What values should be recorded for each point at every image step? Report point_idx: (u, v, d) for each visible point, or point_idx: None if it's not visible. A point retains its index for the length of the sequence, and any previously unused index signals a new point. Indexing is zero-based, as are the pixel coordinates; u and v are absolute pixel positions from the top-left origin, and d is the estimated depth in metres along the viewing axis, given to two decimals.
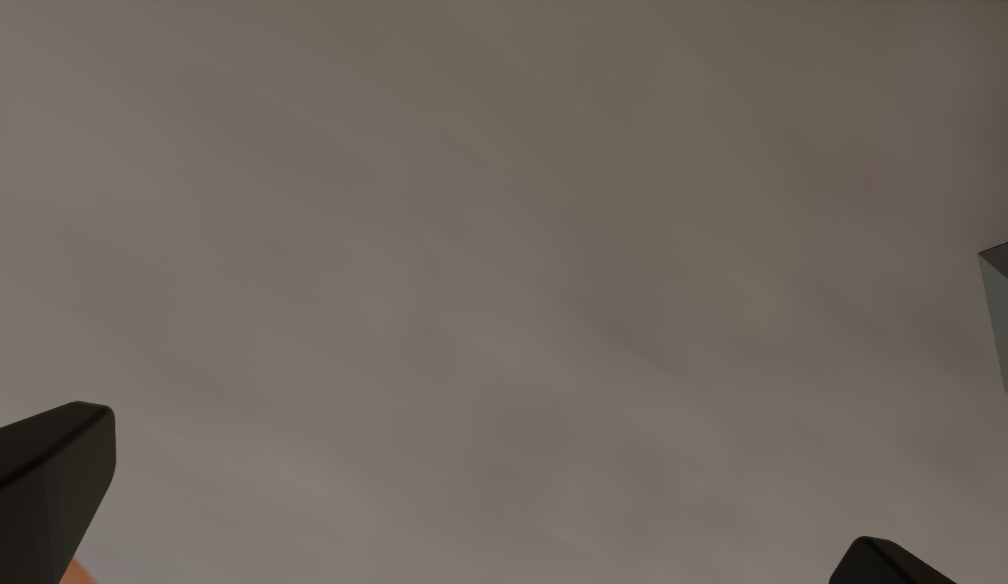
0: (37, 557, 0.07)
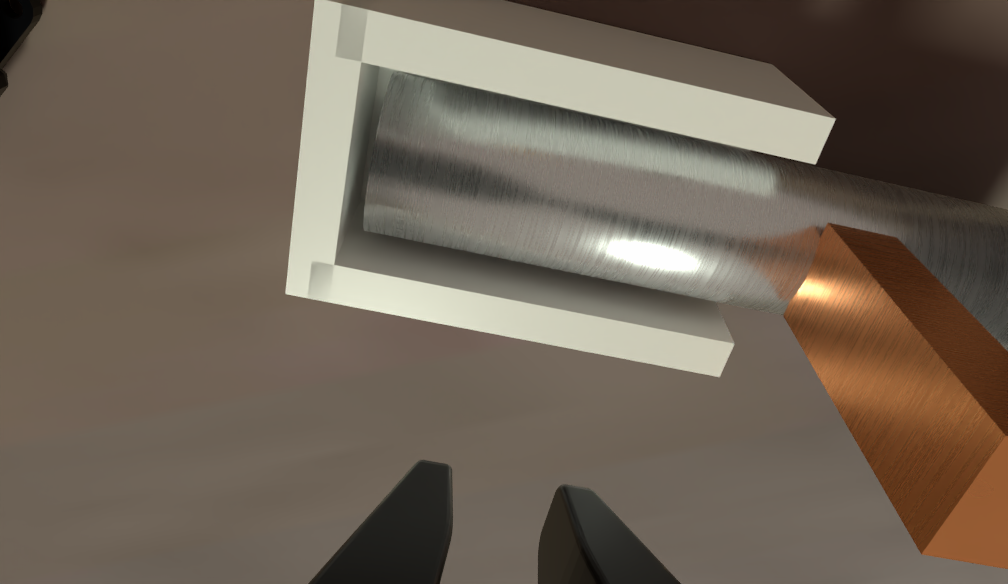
0: None
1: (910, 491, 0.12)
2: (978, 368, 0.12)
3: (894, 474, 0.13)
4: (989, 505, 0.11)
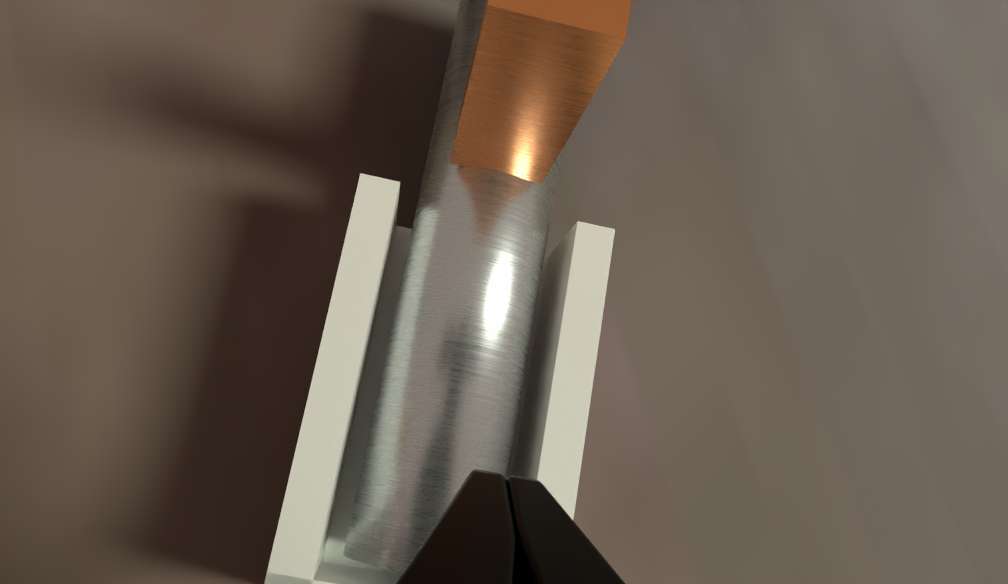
0: None
1: (586, 59, 0.14)
2: None
3: (583, 73, 0.14)
4: None
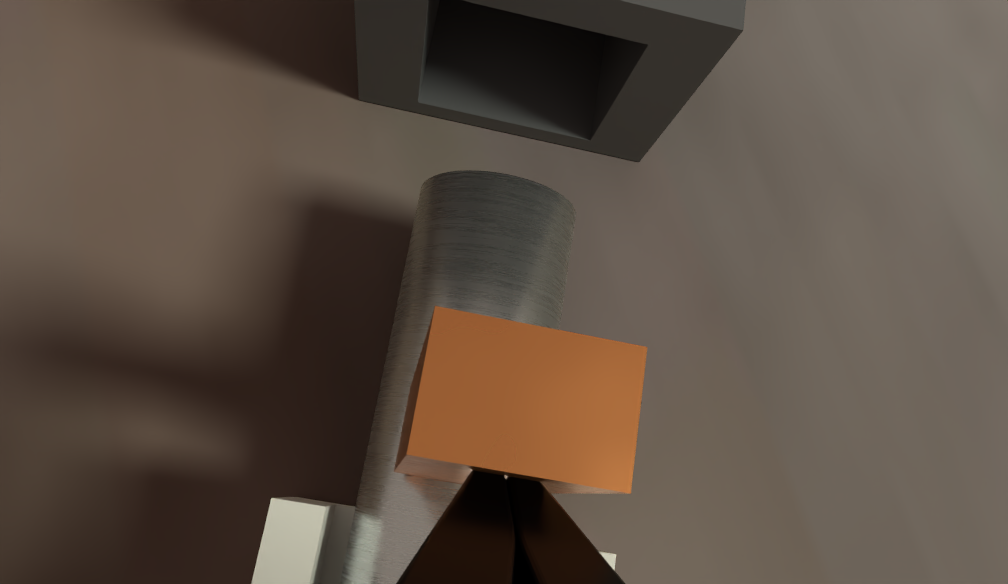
0: None
1: (569, 487, 0.09)
2: (410, 413, 0.10)
3: (567, 488, 0.10)
4: (530, 430, 0.08)
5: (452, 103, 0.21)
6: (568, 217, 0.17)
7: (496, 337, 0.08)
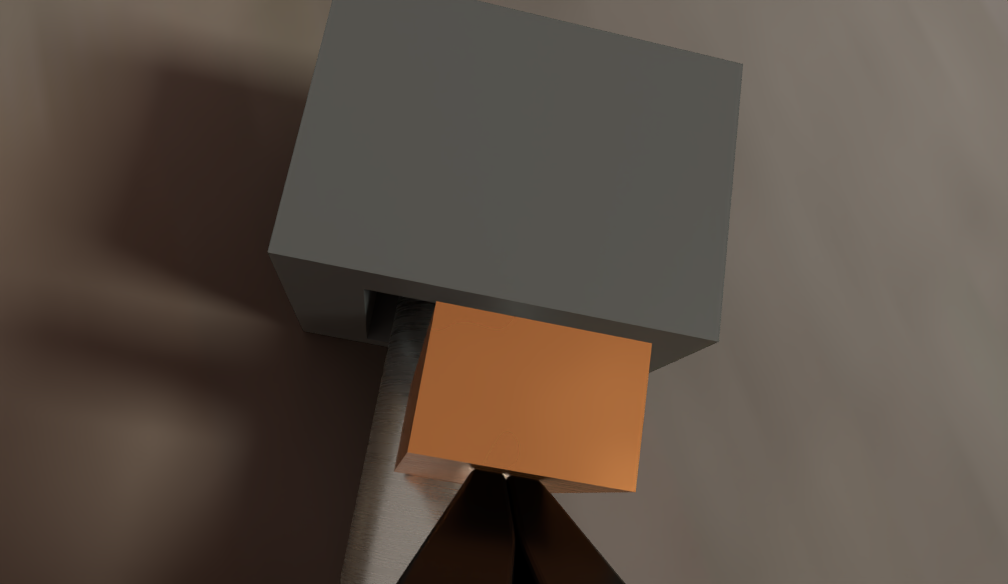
0: None
1: (572, 485, 0.09)
2: (411, 411, 0.10)
3: (569, 487, 0.09)
4: (533, 427, 0.08)
5: None
6: None
7: (498, 333, 0.08)
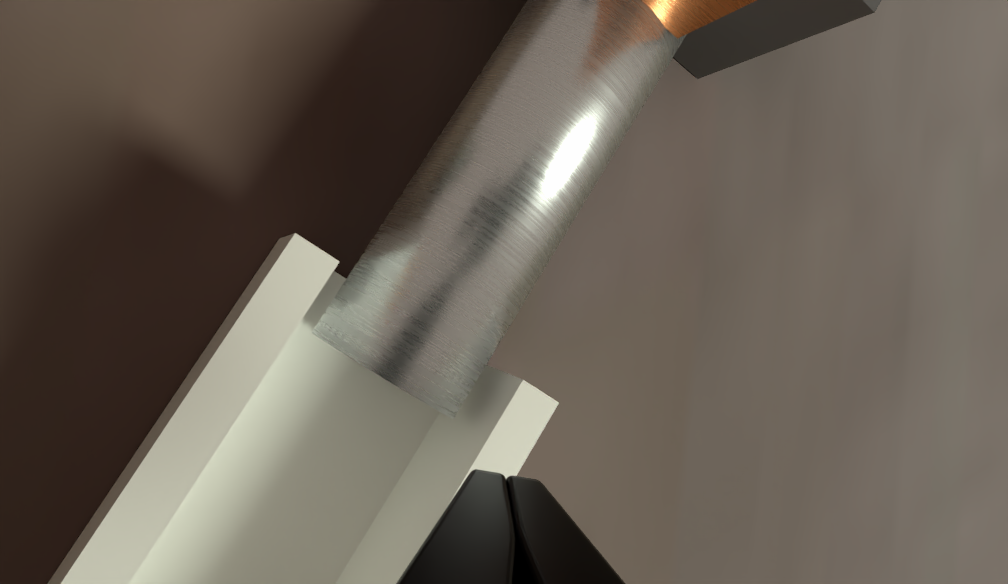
0: None
1: None
2: None
3: None
4: None
5: None
6: None
7: None
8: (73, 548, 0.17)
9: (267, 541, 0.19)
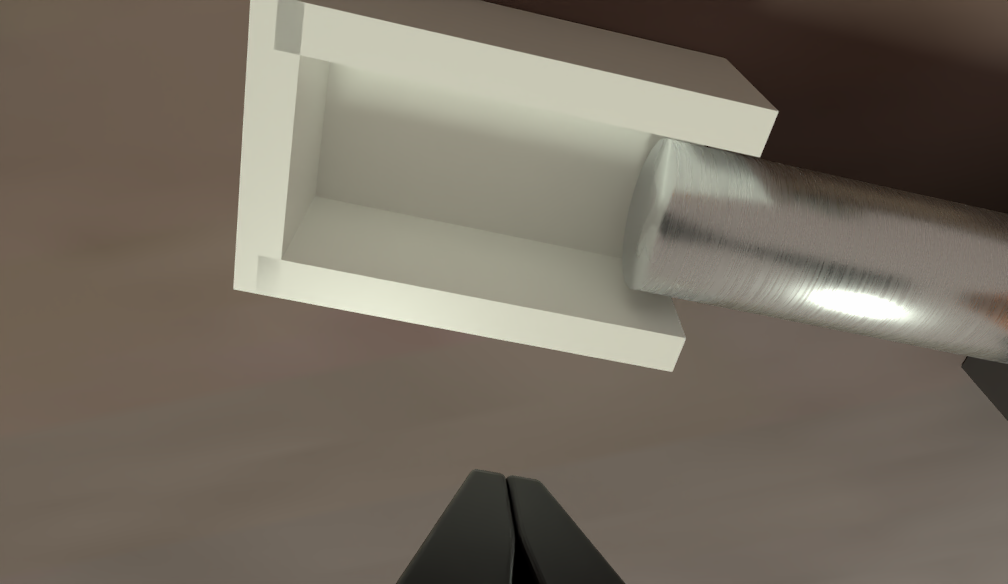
0: None
1: None
2: None
3: None
4: None
5: None
6: None
7: None
8: None
9: (451, 151, 0.20)
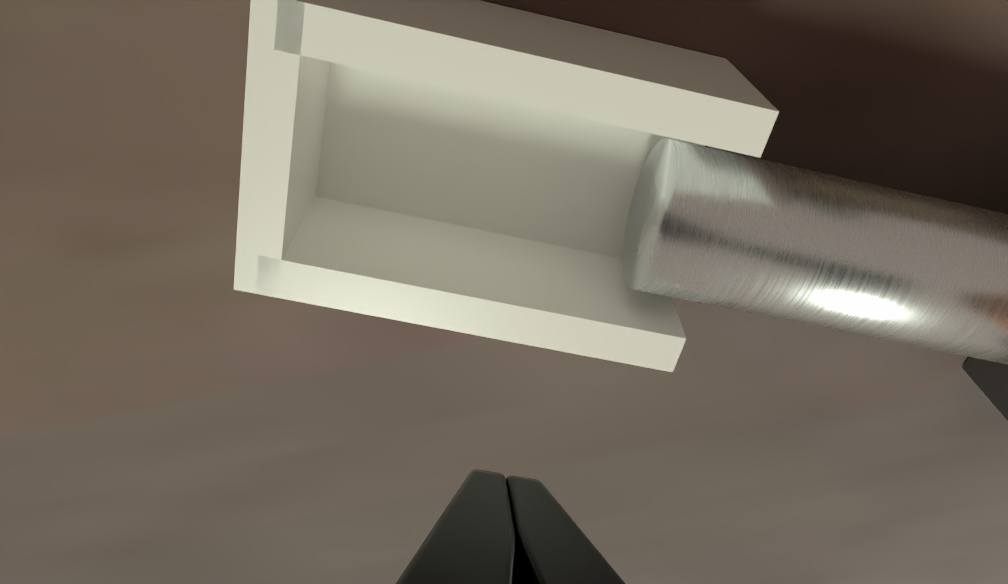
0: None
1: None
2: None
3: None
4: None
5: None
6: None
7: None
8: None
9: (451, 151, 0.20)
